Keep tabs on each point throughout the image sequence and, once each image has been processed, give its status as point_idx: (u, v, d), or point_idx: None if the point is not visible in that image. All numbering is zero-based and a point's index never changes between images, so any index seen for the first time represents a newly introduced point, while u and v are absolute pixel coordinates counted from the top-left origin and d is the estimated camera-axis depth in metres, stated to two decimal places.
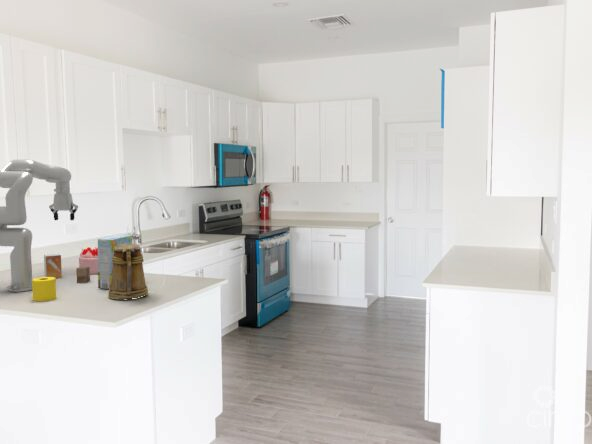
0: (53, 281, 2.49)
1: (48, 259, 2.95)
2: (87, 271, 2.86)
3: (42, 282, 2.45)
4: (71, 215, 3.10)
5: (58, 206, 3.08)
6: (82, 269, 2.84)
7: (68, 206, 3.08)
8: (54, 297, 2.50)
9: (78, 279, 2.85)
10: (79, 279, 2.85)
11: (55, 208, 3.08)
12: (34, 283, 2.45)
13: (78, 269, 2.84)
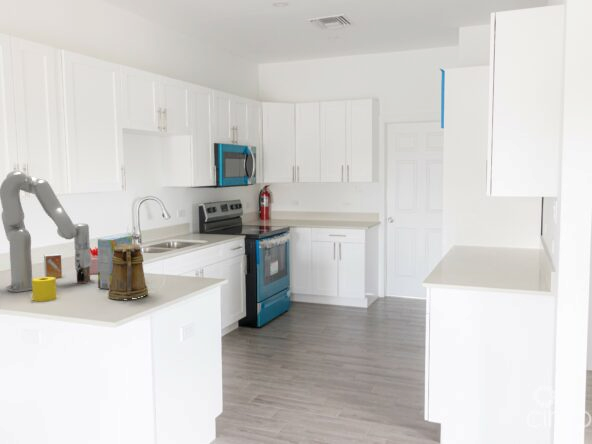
0: (53, 281, 2.49)
1: (48, 259, 2.95)
2: (87, 271, 2.86)
3: (42, 282, 2.45)
4: None
5: (86, 263, 2.84)
6: None
7: None
8: (54, 297, 2.50)
9: None
10: None
11: (84, 266, 2.83)
12: (34, 283, 2.45)
13: None
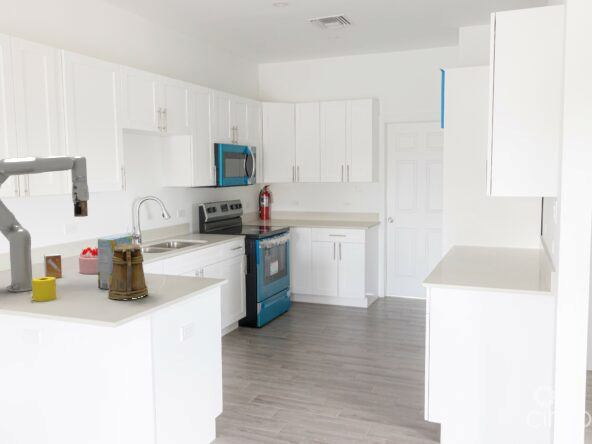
0: (53, 281, 2.49)
1: (48, 259, 2.95)
2: (85, 204, 2.83)
3: (42, 282, 2.45)
4: None
5: (83, 196, 2.81)
6: None
7: (88, 196, 2.87)
8: (54, 297, 2.50)
9: None
10: None
11: (82, 199, 2.79)
12: (34, 283, 2.45)
13: None
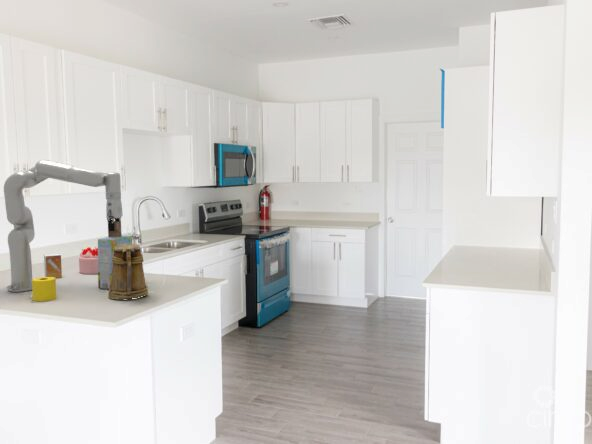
0: (53, 281, 2.49)
1: (48, 259, 2.95)
2: (119, 225, 2.76)
3: (42, 282, 2.45)
4: None
5: (117, 213, 2.74)
6: (114, 223, 2.74)
7: None
8: (54, 297, 2.50)
9: (110, 233, 2.75)
10: (111, 233, 2.75)
11: (116, 216, 2.72)
12: (34, 283, 2.45)
13: None
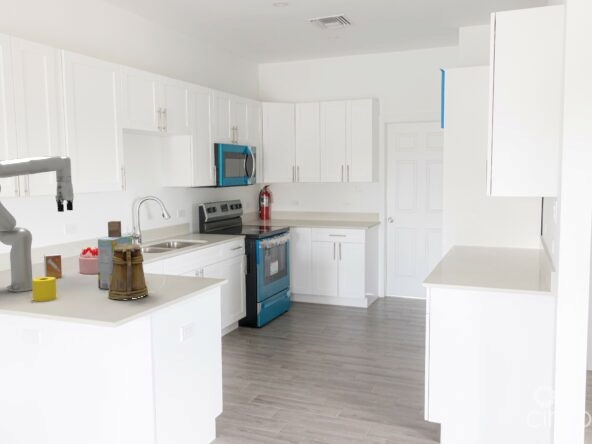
0: (53, 281, 2.49)
1: (48, 259, 2.95)
2: (119, 225, 2.76)
3: (42, 282, 2.45)
4: None
5: (68, 196, 2.86)
6: (114, 223, 2.74)
7: (73, 195, 2.92)
8: (54, 297, 2.50)
9: (110, 233, 2.75)
10: (111, 233, 2.75)
11: (66, 198, 2.85)
12: (34, 283, 2.45)
13: (110, 223, 2.74)
